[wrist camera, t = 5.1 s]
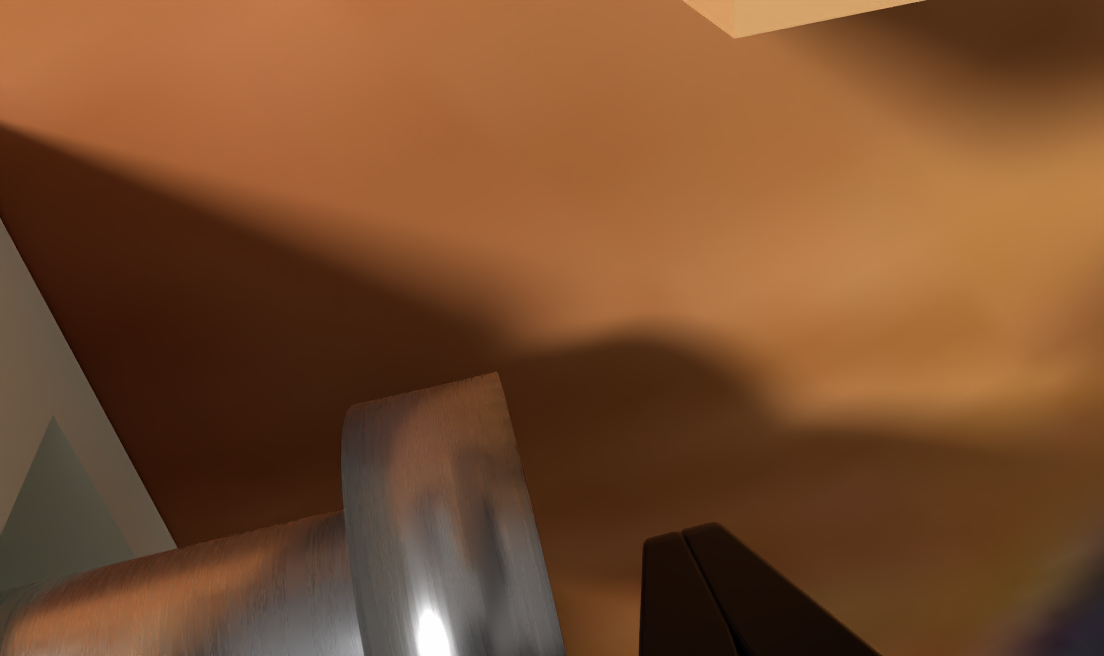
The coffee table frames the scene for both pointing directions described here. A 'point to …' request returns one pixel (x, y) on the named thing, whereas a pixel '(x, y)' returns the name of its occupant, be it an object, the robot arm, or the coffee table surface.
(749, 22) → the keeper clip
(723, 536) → the robot arm
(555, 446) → the coffee table surface
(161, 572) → the pin
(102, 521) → the block
